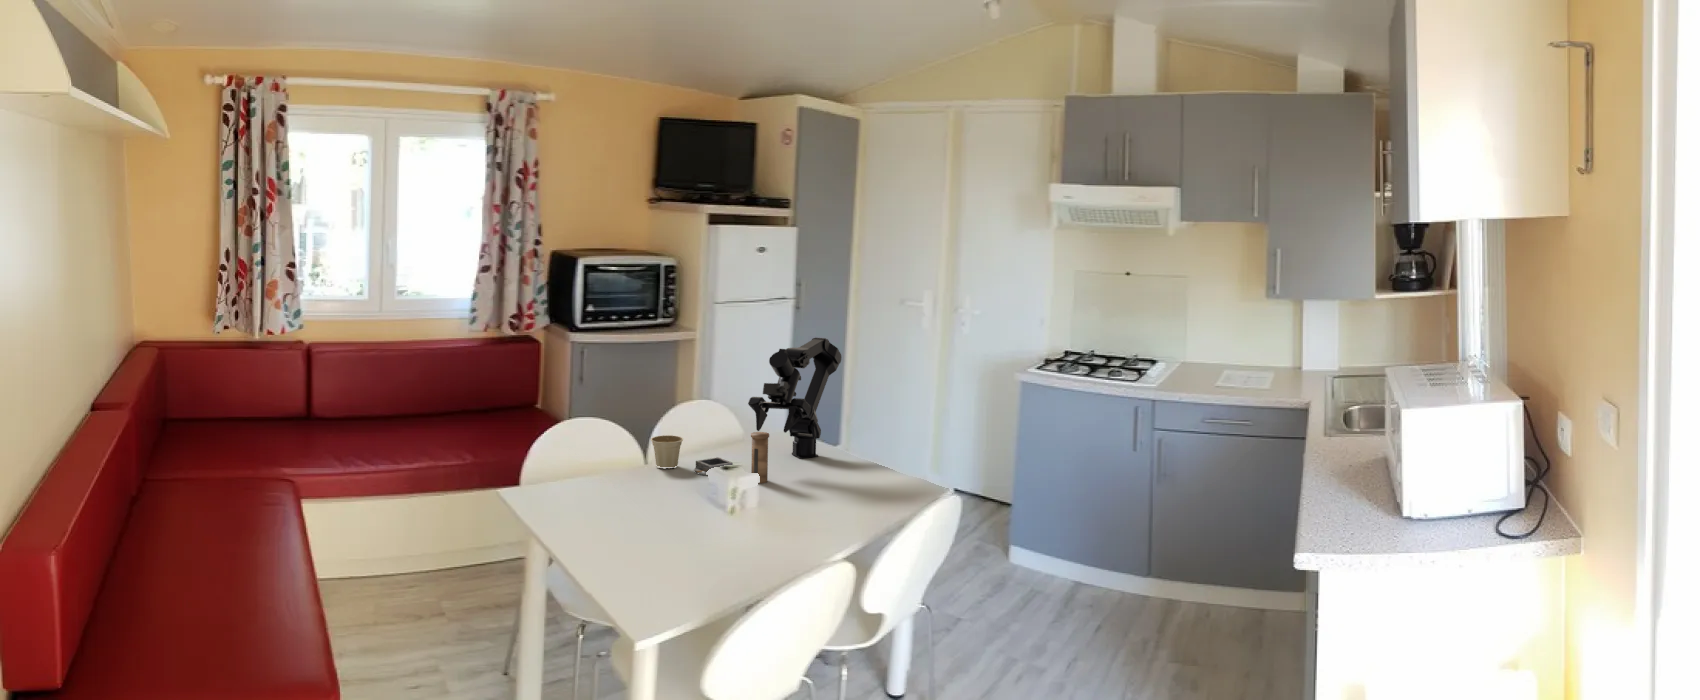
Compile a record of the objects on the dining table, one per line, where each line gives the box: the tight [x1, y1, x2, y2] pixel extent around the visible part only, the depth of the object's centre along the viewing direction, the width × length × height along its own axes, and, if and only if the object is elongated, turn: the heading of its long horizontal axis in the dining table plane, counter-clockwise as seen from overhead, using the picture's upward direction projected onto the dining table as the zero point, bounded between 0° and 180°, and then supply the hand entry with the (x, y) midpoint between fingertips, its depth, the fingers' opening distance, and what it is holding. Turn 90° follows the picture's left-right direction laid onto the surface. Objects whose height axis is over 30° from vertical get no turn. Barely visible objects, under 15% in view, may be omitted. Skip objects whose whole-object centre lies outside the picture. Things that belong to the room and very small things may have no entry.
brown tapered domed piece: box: [750, 431, 770, 484], centre depth 291 cm, size 5×5×14 cm
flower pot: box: [650, 434, 684, 467], centre depth 304 cm, size 9×9×9 cm
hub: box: [693, 456, 734, 476], centre depth 302 cm, size 12×12×3 cm
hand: (771, 431), depth 299 cm, fingers open, 9 cm apart
